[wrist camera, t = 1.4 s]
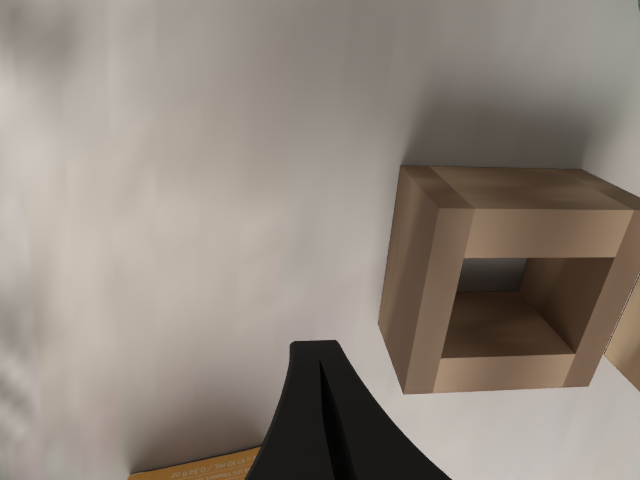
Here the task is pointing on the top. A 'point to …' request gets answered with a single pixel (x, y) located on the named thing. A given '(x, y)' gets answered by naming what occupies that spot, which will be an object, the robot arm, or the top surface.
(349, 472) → the robot arm
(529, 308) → the block
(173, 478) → the small box
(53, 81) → the top surface
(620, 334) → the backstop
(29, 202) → the top surface
